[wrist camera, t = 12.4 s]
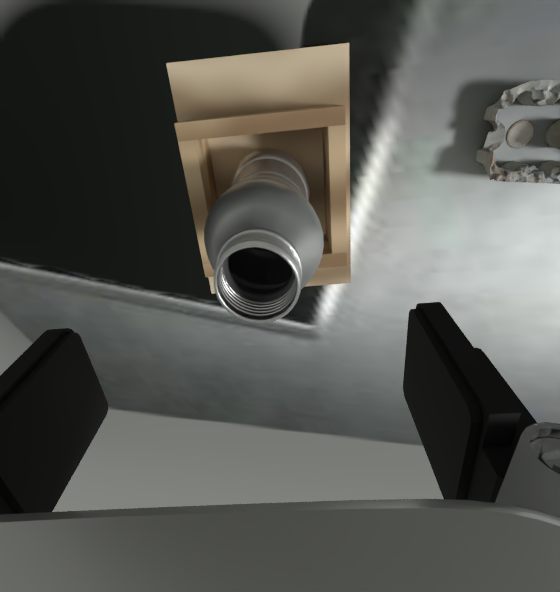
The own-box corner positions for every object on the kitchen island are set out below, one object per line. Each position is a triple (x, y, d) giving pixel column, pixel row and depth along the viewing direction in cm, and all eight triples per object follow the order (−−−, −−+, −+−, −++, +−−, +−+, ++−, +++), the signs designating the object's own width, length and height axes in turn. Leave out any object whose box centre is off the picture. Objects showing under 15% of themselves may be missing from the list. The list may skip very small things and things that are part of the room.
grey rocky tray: (465, 174, 34) (486, 183, 31) (490, 79, 31) (517, 76, 27) (581, 180, 34) (616, 189, 31) (619, 86, 31) (664, 84, 27)
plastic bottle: (281, 128, 31) (276, 167, 13) (322, 197, 34) (365, 308, 16) (218, 172, 33) (141, 260, 15) (262, 235, 35) (241, 373, 18)
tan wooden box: (171, 64, 30) (144, 56, 24) (346, 45, 30) (361, 32, 24) (214, 287, 39) (202, 319, 34) (348, 276, 39) (359, 307, 33)
